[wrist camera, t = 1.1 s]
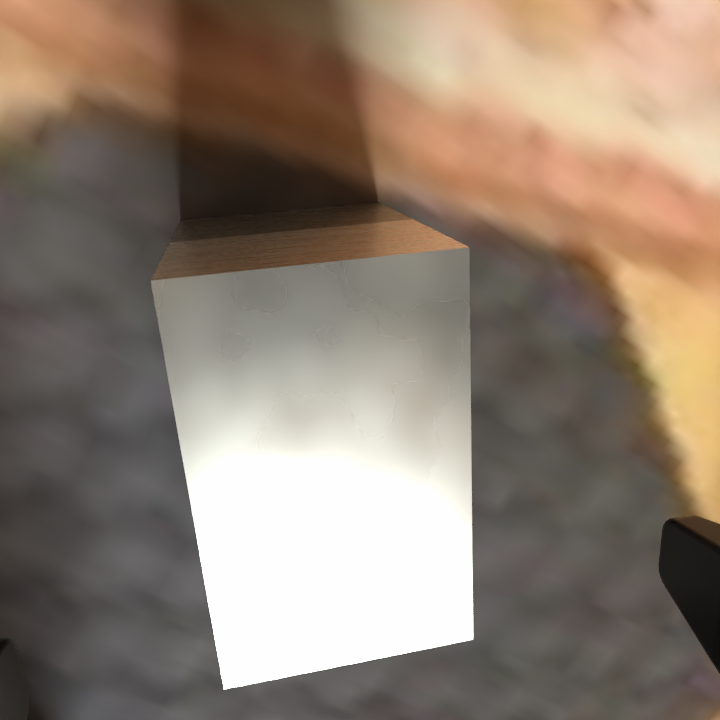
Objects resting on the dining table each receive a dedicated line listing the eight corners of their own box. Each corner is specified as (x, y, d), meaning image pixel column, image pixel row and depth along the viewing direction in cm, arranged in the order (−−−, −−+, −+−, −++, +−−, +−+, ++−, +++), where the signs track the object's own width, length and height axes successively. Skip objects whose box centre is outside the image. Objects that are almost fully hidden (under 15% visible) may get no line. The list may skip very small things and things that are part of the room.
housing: (392, 472, 20) (473, 639, 13) (225, 498, 19) (224, 688, 13) (377, 201, 17) (469, 247, 11) (180, 219, 16) (150, 281, 10)
